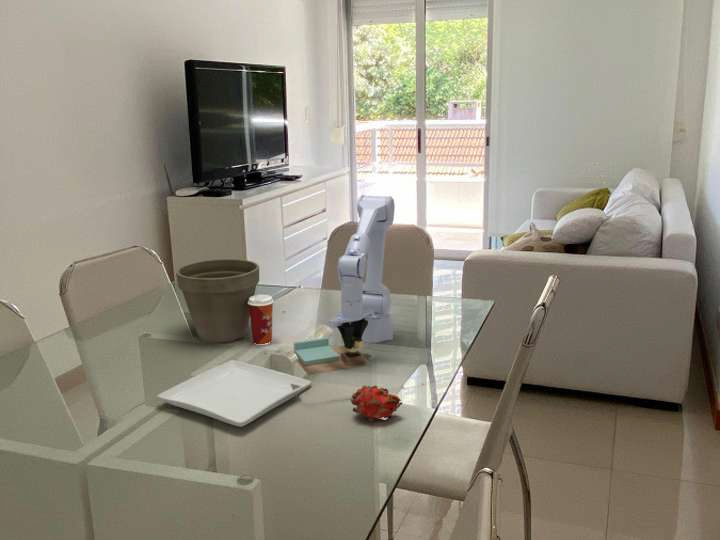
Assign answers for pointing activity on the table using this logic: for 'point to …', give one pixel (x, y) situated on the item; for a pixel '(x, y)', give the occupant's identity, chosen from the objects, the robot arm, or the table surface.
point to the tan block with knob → (354, 346)
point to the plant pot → (219, 296)
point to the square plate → (235, 392)
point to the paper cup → (261, 318)
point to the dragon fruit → (374, 402)
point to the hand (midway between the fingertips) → (352, 346)
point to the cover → (315, 351)
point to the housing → (336, 362)
